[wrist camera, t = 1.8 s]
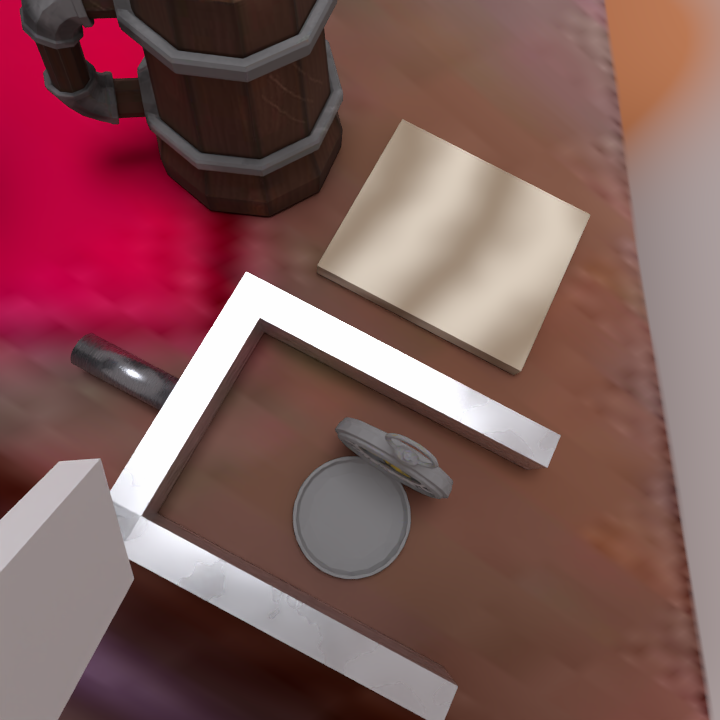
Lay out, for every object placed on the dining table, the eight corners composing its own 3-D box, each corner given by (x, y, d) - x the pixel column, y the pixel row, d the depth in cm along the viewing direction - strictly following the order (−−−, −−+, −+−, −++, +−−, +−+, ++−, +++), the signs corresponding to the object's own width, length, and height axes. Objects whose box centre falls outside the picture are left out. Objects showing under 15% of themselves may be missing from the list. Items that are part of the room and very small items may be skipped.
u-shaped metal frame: (10, 478, 30) (-22, 477, 27) (167, 246, 34) (153, 223, 31) (428, 703, 29) (441, 727, 26) (538, 439, 33) (560, 435, 30)
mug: (314, 50, 38) (317, -218, 24) (355, 202, 36) (387, 8, 21) (84, 82, 36) (-69, -193, 21) (111, 247, 34) (-41, 63, 19)
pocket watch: (293, 579, 30) (286, 623, 20) (292, 428, 32) (285, 402, 22) (437, 571, 31) (496, 610, 21) (428, 424, 33) (478, 398, 23)
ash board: (317, 272, 34) (317, 265, 33) (399, 130, 37) (402, 119, 36) (513, 375, 34) (520, 371, 33) (581, 223, 37) (590, 214, 36)
